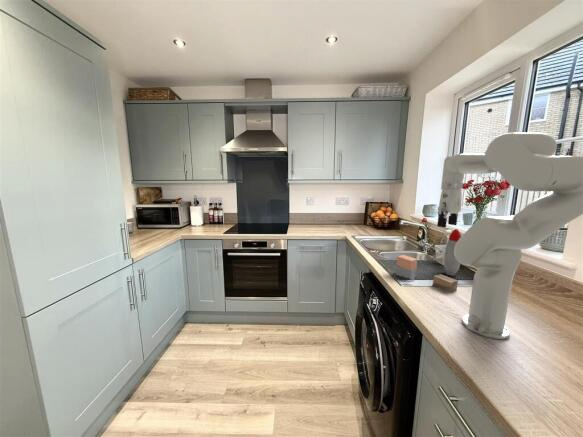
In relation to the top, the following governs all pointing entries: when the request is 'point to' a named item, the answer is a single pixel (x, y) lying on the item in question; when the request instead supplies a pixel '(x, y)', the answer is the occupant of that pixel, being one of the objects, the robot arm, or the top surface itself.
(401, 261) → the terracotta brick
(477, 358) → the top surface
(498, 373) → the top surface
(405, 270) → the slate-grey brick
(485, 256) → the robot arm
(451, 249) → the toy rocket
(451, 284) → the walnut brick
